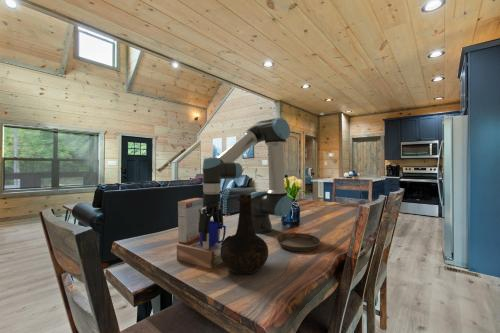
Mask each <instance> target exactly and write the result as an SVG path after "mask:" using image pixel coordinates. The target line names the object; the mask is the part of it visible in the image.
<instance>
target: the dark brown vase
mask: <svg viewBox="0 0 500 333" xmlns="http://www.w3.org/2000/svg"><path fill="white" fill-rule="evenodd" d="M250 194H251V193H250ZM250 194H249V193H248V194H247V193H241V194H240V193H239V194H238V195H239V198H237V199H236V200H237V201H239V208H238V209H239V211H238V212H239V213H238V221H237V228H236V232H235V234H233V235H228V236H227V237H225V238H224V241H223V242H222V243H220V245H221V247H220V253H221V258H222V260H223V262H222V263H223V264H224V265H225V266H226V267H227V269H229V270H230V271H231V272H234V273H236V274H240V275H247V274H252V273H255V272H257V271H259V270H260V269H261V268H262V267H263V266H264V265H265V264H266V263H267V260H268V257H269V246H268V245H267V243H266V241H265V240H264V239H263V238H261V237H260V236H258V235H257V233H255V231H254V226H253V219H252V207H251V201H253V199H251V195H250Z"/></svg>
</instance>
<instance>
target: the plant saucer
mask: <svg viewBox="0 0 500 333" xmlns="http://www.w3.org/2000/svg"><path fill="white" fill-rule="evenodd" d="M276 241H277V243H278V244H279V245H280V246H281V247H282V248H283V249H286V250H289V251H293V252H309V251H312V250H315V249H316V248H317V247H318V246H319V244H320V243H321V240H320V238H319V237H317V236H314V235H311V234H307V233H301V232H300V233H299V232H290V233H289V232H288V233H283V234H280V235H278V236H277V237H276Z"/></svg>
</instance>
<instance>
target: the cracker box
mask: <svg viewBox="0 0 500 333" xmlns="http://www.w3.org/2000/svg"><path fill="white" fill-rule="evenodd" d="M200 208H201V209H202V208H204V202H203V197H202V198H201V197H193V198H188V199H184V200H180V201H177V220H178V221H177V224H178V225H177V227H178V229H177V230H178V232H177V233H178V236H177V237H178V243H180V244H189V243H191V242H193V241H196V240H197V239H200V236H199V232H198V231H199V218H200V212H199V209H200Z"/></svg>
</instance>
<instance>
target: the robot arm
mask: <svg viewBox="0 0 500 333" xmlns="http://www.w3.org/2000/svg"><path fill="white" fill-rule="evenodd" d="M290 135H291V126H290V125H289V122H288V121H287V120H286V119H285V118H283V117H275V118H270V119H264V120H260V121H259V122H256V123H254V124H253V125H252V126H250V127H249V128H248V129H247V130H245V132H244V133H243V136H241V137H240V138H239V139H238V140H236V141H235V142H234V143H233V144H231V145H230V147H228V148H227V149H225V150H224V151H223V152H222V153H221V154H220V155H219V156H218V157H213V156H211V157H205V158H203V161H202V193H203V194H202V198H203V208H202V209H201V208H200V209H199V212H200V218H199V231H198V232H199V233H202V241H203V249H205V250H209V249H210V247H209V233H208V229H209V224H210V221H214V223H216V222H217V223H218V225H224V214H223V208H224V205H223V204H220V203H221V191H222V190H221V182H222V181H221V180H222V179H224V180H226V179H227V180H229V179H231V180H235V179H240V177H241V176H242V175H243V166H242V164H241V163H240V162H235V161H237V160H238V159H239V158H240V157H241V156H243V154H245V153H246V152H247V150H249V149H250V148H251V147H253V146H256V145H257V144H258V143H260V142H264V143H265V145H266V146H267V161H268V162H267V163H268V165H267V166H268V190H266V191H253V192H251V193H250V195H251V199H253V201H251V207H252V219H253V226H254V231H255V234H265V233H266V234H267V233H270V232H272V231H273V225H272V222H271V219H270V215H271V216H275V217H281V218H282V217H283V218H284V217H286V216H287V215H289V213H290V212H291V210H292V206H293V201H292V198H291V197H290V196H289V195H288V191H287V190H286V188H285V166H284V165H285V164H284V163H285V161H284V160H285V159H284V158H285V156H284V146H285V144H286V143H287V139H288V138H289V137H290ZM211 219H213V220H211ZM222 229H223V227H218V230H217V240H218V241H221V230H222ZM215 245H221V243H217V242H216V244H215Z"/></svg>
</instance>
